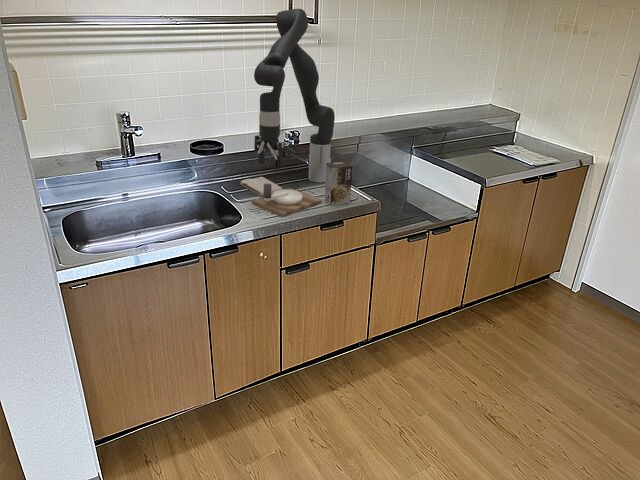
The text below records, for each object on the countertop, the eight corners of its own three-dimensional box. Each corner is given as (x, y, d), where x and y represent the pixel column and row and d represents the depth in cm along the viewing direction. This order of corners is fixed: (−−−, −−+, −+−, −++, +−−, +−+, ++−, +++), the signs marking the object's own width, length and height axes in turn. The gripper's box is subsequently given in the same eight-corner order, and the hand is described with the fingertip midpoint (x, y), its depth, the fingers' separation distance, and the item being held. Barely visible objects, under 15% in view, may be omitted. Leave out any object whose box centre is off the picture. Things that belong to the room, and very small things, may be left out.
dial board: (290, 191, 222) (290, 187, 222) (321, 203, 212) (322, 199, 211) (251, 203, 207) (251, 199, 207) (283, 217, 197) (283, 213, 196)
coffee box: (344, 198, 218) (346, 161, 211) (350, 203, 213) (353, 165, 206) (323, 200, 215) (326, 162, 208) (329, 205, 210) (332, 167, 203)
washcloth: (261, 181, 234) (261, 174, 233) (284, 193, 222) (284, 186, 220) (238, 185, 227) (238, 178, 226) (260, 198, 215) (260, 191, 213)
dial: (288, 192, 216) (289, 173, 213) (308, 200, 209) (309, 181, 205) (254, 201, 205) (254, 181, 202) (274, 210, 198) (274, 190, 194)
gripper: (248, 120, 190) (249, 163, 197) (275, 128, 181) (275, 172, 188) (263, 117, 195) (264, 159, 202) (291, 125, 186) (290, 168, 193)
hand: (269, 166), depth 195 cm, fingers open, 8 cm apart
